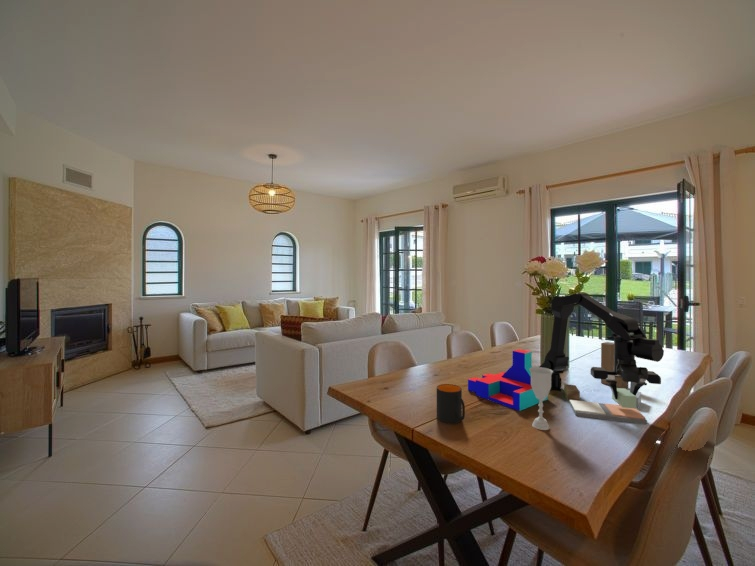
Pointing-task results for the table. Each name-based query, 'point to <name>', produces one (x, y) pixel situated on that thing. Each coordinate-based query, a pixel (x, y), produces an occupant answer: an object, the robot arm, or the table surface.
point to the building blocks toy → (508, 384)
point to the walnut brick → (571, 392)
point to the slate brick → (638, 399)
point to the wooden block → (610, 363)
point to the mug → (450, 404)
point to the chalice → (540, 392)
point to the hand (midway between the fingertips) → (623, 399)
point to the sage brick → (625, 398)
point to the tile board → (607, 411)
